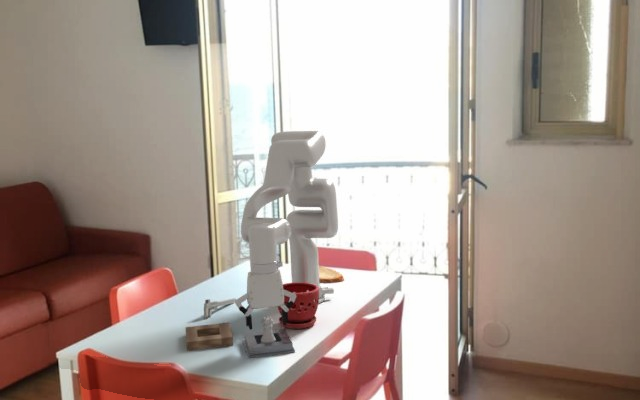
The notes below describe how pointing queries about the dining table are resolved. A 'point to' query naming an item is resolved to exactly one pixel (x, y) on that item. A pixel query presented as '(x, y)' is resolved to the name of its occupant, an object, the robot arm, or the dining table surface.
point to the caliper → (215, 306)
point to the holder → (267, 344)
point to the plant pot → (301, 305)
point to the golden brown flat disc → (329, 275)
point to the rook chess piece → (267, 331)
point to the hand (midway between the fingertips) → (267, 326)
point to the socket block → (208, 336)
